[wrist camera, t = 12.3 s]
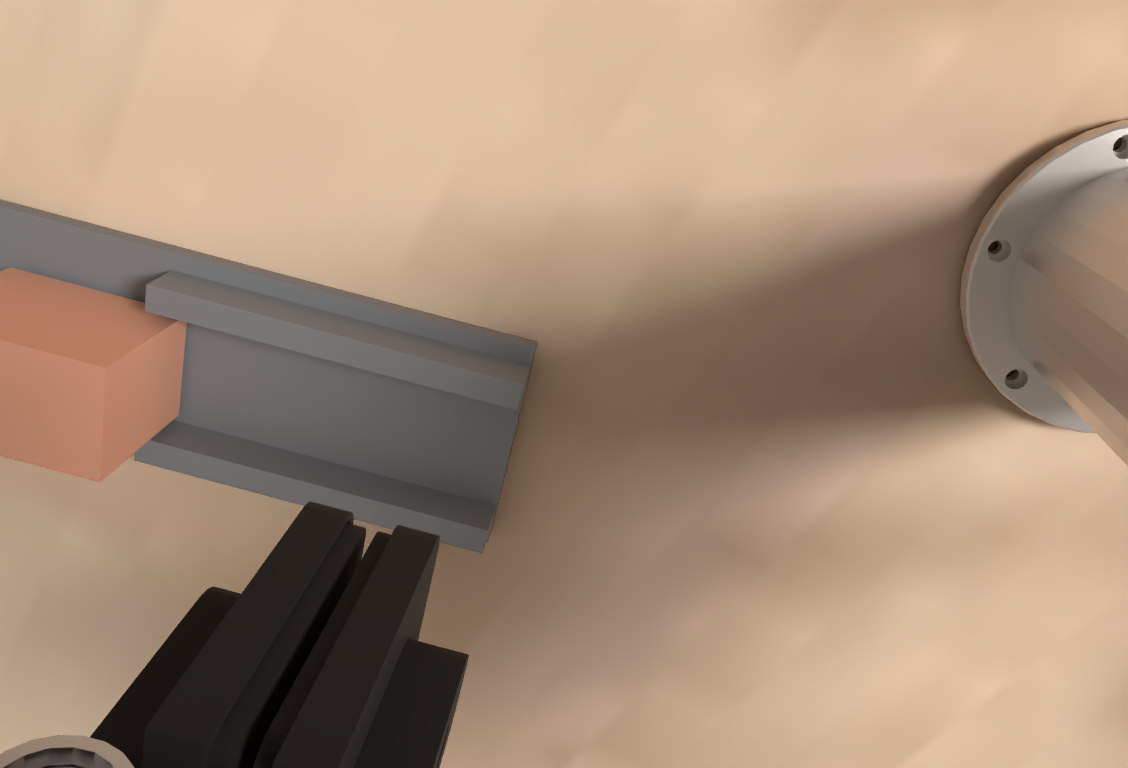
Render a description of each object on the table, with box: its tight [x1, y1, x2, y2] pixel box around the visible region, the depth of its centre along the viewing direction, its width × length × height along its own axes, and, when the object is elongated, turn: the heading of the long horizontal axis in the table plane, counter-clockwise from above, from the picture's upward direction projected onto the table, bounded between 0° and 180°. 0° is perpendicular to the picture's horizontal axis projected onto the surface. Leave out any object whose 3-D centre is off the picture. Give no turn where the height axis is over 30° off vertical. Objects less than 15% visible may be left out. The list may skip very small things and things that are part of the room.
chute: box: [0, 200, 537, 553], centre depth 42 cm, size 28×10×3 cm, turn 76°
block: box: [0, 267, 187, 482], centre depth 39 cm, size 8×5×6 cm, turn 76°
